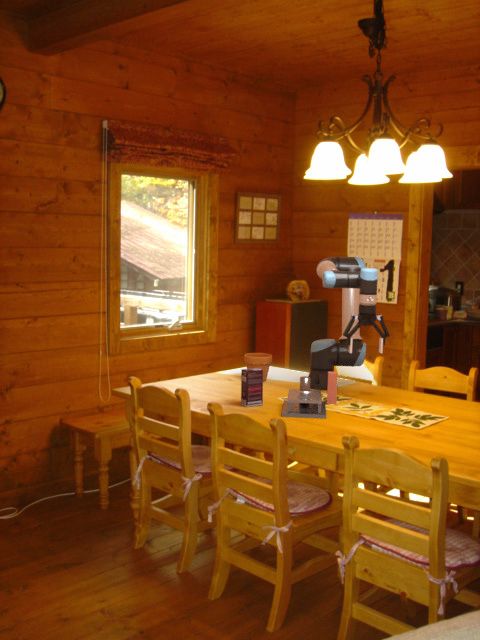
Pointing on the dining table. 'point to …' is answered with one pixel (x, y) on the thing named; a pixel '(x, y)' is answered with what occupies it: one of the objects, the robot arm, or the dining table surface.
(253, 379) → the supplement box
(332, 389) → the pink rectangular block
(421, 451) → the dining table surface
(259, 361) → the flower pot
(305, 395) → the grey stand
